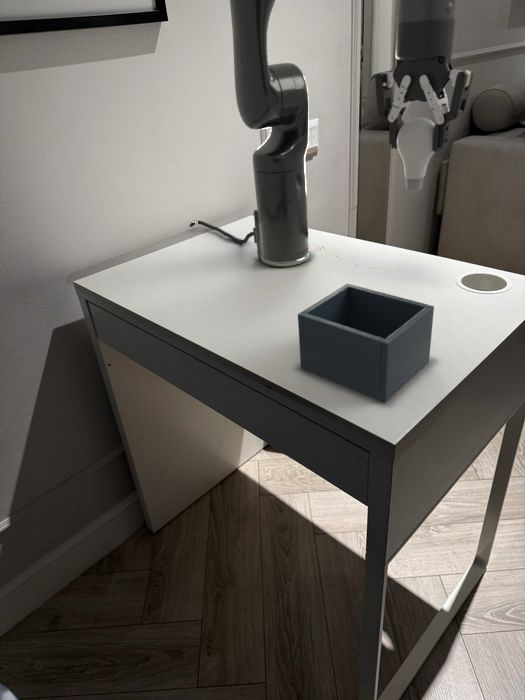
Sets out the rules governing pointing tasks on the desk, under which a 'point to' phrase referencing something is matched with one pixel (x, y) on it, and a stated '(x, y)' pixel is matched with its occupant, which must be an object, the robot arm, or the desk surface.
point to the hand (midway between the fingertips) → (416, 148)
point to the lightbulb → (415, 150)
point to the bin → (366, 339)
